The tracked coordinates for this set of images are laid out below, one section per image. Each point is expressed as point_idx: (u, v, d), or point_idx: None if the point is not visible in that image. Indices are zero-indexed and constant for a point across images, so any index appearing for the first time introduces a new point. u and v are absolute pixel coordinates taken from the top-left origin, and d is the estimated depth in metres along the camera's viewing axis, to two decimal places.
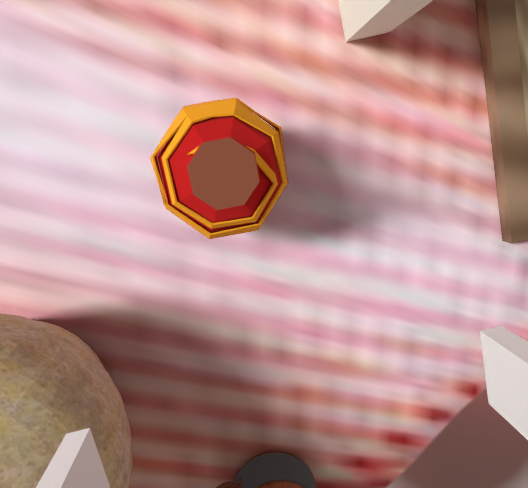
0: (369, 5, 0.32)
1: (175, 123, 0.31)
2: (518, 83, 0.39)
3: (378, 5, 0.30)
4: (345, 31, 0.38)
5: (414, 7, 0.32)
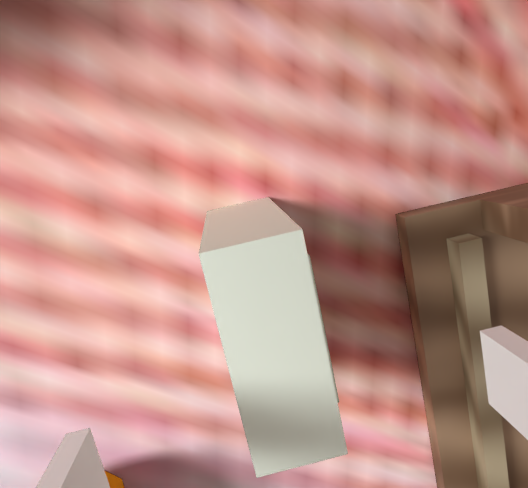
0: None
1: None
2: (461, 399, 0.31)
3: None
4: None
5: None
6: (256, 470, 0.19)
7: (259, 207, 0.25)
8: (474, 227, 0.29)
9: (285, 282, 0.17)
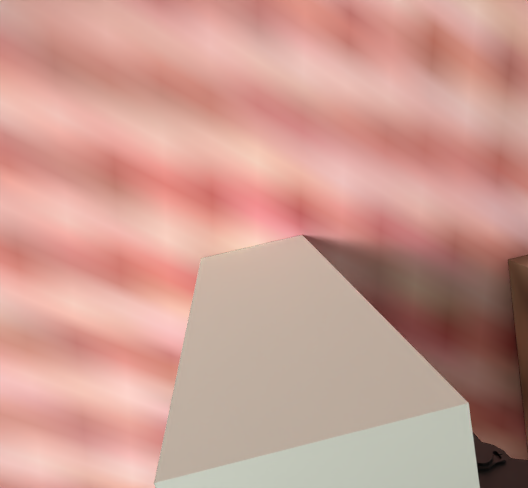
0: None
1: None
2: None
3: None
4: None
5: None
6: None
7: (294, 263, 0.14)
8: None
9: None
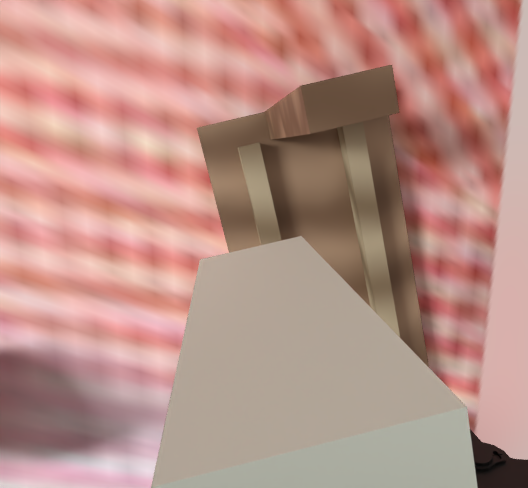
0: None
1: None
2: None
3: None
4: None
5: None
6: None
7: (293, 264, 0.14)
8: (262, 137, 0.33)
9: None
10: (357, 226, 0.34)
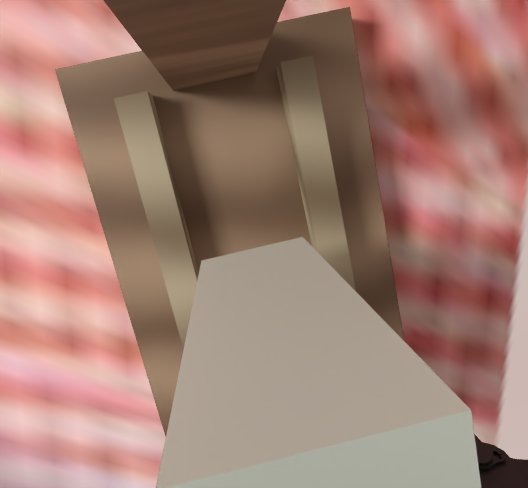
0: None
1: None
2: (176, 331, 0.23)
3: None
4: None
5: None
6: None
7: (295, 266, 0.14)
8: (159, 87, 0.21)
9: None
10: (309, 227, 0.22)
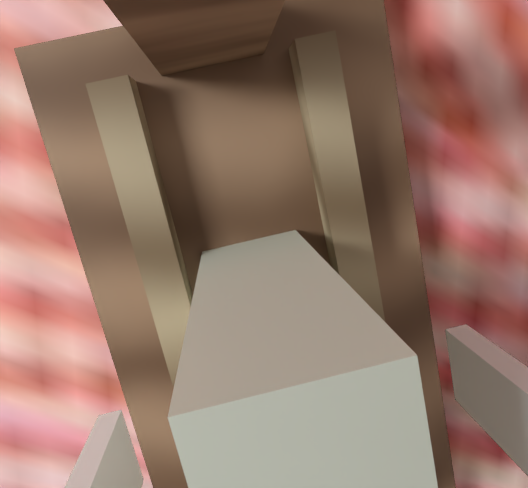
0: None
1: None
2: (167, 368, 0.19)
3: None
4: None
5: None
6: None
7: (286, 254, 0.15)
8: (145, 71, 0.17)
9: (373, 472, 0.07)
10: (328, 243, 0.18)
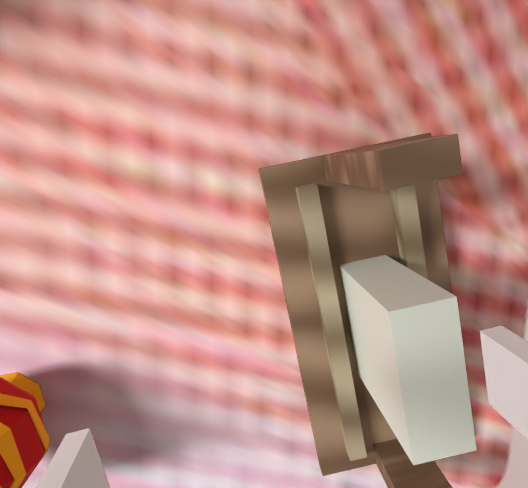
0: (383, 407, 0.32)
1: None
2: (317, 324, 0.38)
3: (392, 427, 0.31)
4: (358, 368, 0.38)
5: None
6: (413, 460, 0.27)
7: (390, 267, 0.33)
8: (318, 178, 0.36)
9: (443, 331, 0.26)
10: (403, 262, 0.37)
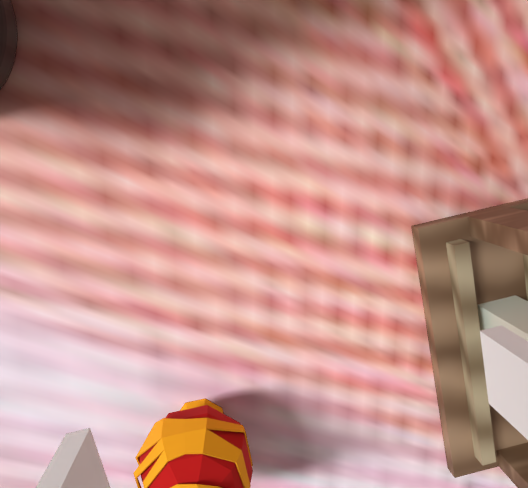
0: None
1: (154, 449, 0.37)
2: (457, 353, 0.45)
3: None
4: None
5: None
6: None
7: None
8: (464, 235, 0.43)
9: None
10: None
